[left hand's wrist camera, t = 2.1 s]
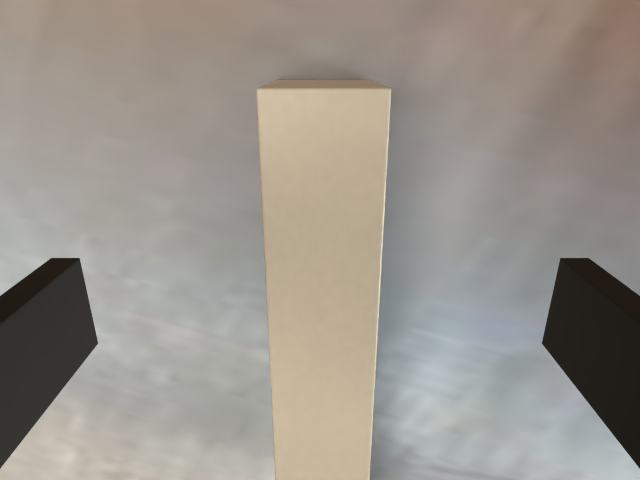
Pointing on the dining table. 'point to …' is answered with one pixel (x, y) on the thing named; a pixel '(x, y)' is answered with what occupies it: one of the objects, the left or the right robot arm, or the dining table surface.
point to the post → (323, 268)
